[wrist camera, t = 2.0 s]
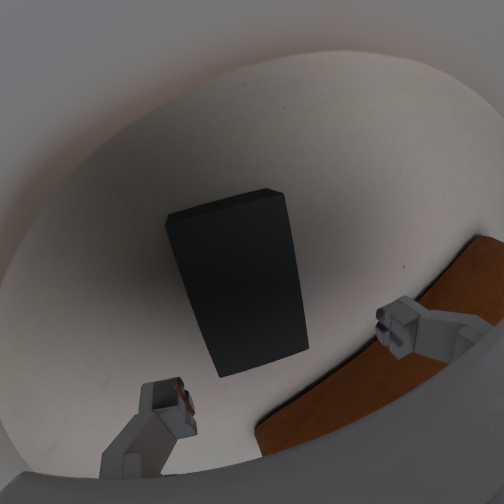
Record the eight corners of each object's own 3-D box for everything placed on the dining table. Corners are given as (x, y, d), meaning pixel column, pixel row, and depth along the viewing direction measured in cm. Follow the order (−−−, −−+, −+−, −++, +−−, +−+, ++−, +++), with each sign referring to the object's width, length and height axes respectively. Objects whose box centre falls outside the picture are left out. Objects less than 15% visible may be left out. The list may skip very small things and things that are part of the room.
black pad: (293, 325, 20) (309, 348, 17) (213, 351, 19) (220, 378, 16) (267, 187, 16) (284, 192, 14) (168, 214, 16) (164, 224, 13)
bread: (236, 426, 22) (286, 573, 8) (481, 220, 23) (593, 265, 8) (300, 462, 27) (347, 555, 13) (487, 302, 28) (564, 351, 13)
